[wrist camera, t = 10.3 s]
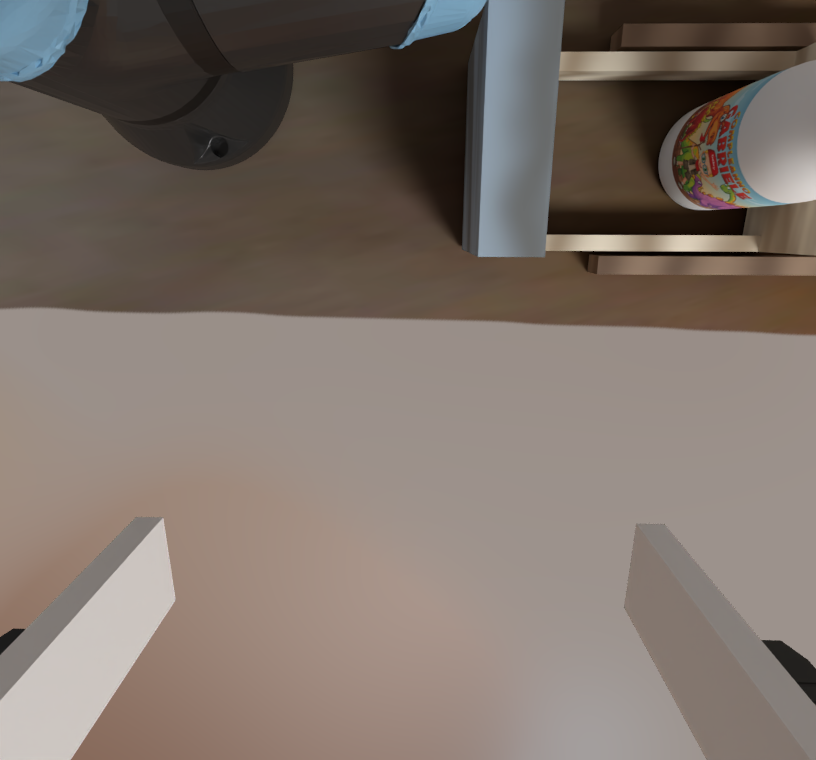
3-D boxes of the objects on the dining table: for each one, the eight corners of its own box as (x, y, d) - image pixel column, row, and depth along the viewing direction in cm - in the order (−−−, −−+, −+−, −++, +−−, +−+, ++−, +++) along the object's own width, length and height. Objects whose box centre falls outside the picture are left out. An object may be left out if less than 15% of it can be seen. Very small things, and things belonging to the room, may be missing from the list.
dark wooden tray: (587, 271, 43) (596, 274, 41) (611, 36, 38) (623, 23, 36) (911, 273, 42) (939, 276, 40) (977, 35, 38) (1014, 22, 35)
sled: (462, 249, 42) (478, 256, 31) (468, 62, 38) (489, -9, 27) (762, 250, 42) (892, 258, 30) (798, 61, 38) (963, -12, 26)
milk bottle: (731, 83, 39) (1037, -60, 20) (770, 174, 40) (1086, 125, 21) (637, 143, 40) (839, 65, 21) (679, 229, 42) (900, 230, 23)
